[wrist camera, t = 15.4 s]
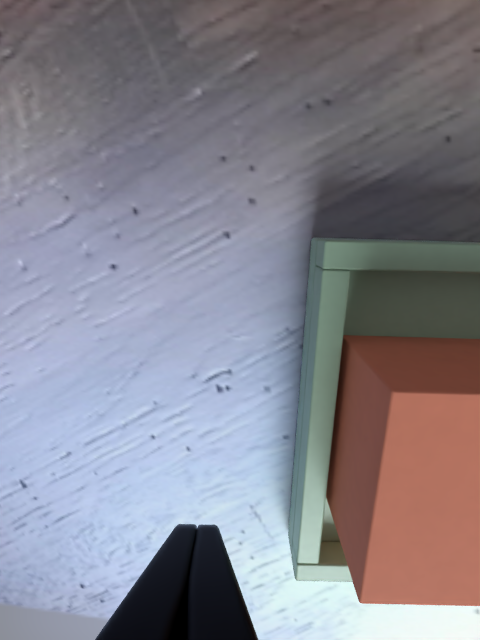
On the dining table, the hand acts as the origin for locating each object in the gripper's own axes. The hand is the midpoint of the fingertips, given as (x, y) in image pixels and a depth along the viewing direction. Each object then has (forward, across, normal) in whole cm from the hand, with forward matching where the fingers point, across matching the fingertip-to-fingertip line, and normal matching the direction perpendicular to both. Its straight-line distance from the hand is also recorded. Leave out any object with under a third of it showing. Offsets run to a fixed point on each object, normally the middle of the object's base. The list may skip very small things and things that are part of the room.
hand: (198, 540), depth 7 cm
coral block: (+5, -8, 0) cm, 10 cm away
